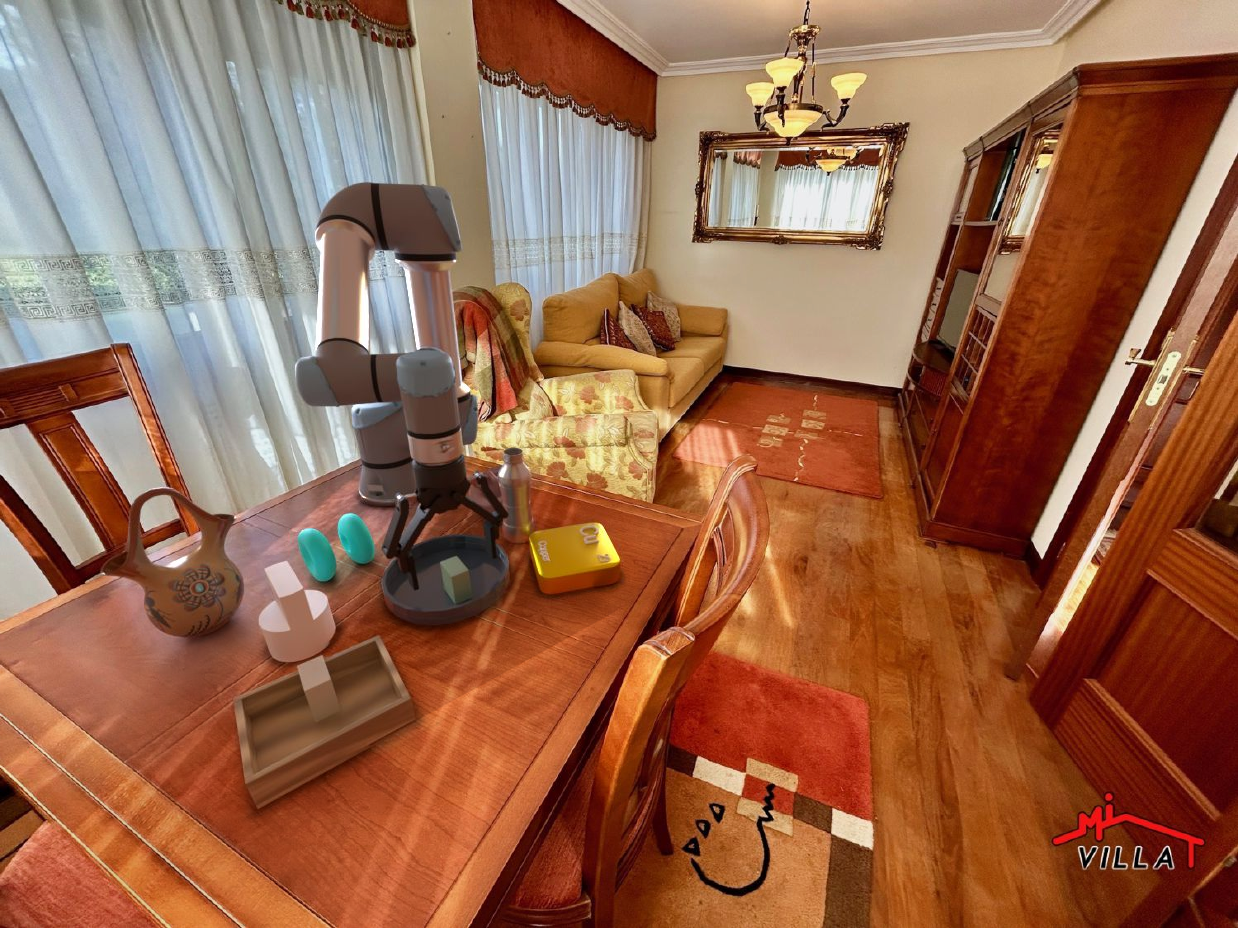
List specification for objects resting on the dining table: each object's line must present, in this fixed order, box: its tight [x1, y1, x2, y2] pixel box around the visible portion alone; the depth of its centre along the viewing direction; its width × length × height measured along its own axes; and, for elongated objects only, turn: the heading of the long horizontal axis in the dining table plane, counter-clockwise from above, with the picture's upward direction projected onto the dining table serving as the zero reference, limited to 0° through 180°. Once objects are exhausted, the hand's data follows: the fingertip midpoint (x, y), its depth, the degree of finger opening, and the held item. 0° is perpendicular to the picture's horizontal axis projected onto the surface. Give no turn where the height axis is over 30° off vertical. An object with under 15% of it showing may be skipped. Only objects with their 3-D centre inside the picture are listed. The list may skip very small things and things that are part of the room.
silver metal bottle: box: [497, 447, 536, 545], centre depth 99 cm, size 6×7×20 cm
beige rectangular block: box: [296, 654, 341, 723], centre depth 66 cm, size 5×3×6 cm, turn 39°
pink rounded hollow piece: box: [468, 464, 503, 513], centre depth 109 cm, size 12×12×11 cm
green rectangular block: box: [440, 556, 472, 604], centre depth 86 cm, size 5×3×6 cm, turn 39°
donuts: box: [297, 512, 376, 582], centre depth 91 cm, size 10×10×10 cm
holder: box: [232, 634, 417, 810], centre depth 65 cm, size 14×18×5 cm
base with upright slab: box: [257, 560, 337, 663], centre depth 75 cm, size 9×9×12 cm
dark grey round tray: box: [380, 533, 511, 626], centre depth 90 cm, size 21×22×4 cm
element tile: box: [528, 522, 621, 595], centre depth 95 cm, size 15×15×5 cm
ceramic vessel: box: [100, 487, 245, 638], centre depth 74 cm, size 16×9×25 cm, turn 153°
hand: (454, 569), depth 85 cm, fingers open, 13 cm apart
